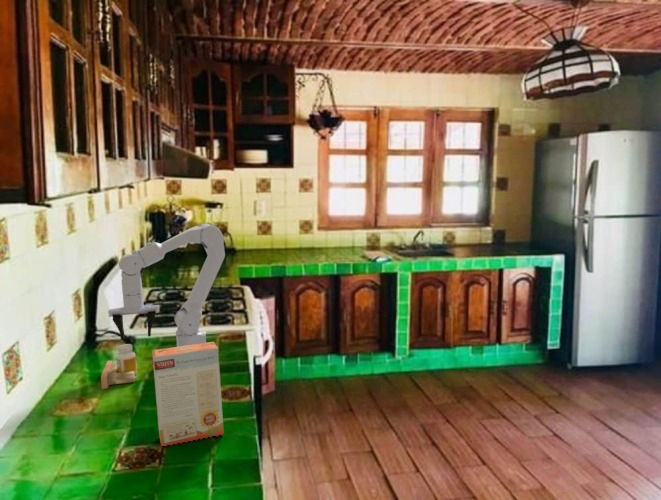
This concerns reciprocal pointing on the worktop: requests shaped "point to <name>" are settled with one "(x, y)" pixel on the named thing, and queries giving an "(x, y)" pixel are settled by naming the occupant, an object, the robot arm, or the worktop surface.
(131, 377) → the slot block
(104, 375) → the rail
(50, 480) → the worktop surface
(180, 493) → the worktop surface
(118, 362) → the supplement bottle
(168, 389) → the cracker box
